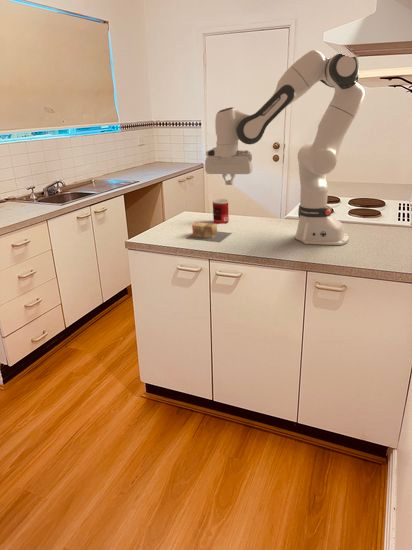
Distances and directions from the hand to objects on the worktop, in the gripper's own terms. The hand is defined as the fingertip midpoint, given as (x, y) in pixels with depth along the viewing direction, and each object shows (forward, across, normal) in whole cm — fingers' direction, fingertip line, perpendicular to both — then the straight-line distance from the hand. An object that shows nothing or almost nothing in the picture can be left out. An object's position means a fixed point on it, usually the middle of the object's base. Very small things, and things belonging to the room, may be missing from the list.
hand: (229, 184), depth 173 cm
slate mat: (+24, +11, 0) cm, 26 cm away
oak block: (+21, +8, 0) cm, 22 cm away
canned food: (+24, +16, -23) cm, 37 cm away
